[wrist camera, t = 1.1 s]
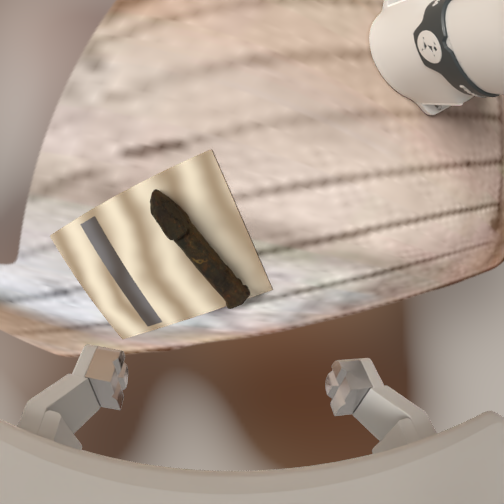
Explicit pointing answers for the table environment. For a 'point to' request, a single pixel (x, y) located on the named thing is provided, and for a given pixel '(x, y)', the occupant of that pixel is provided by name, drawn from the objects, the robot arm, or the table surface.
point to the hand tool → (197, 249)
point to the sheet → (159, 250)
